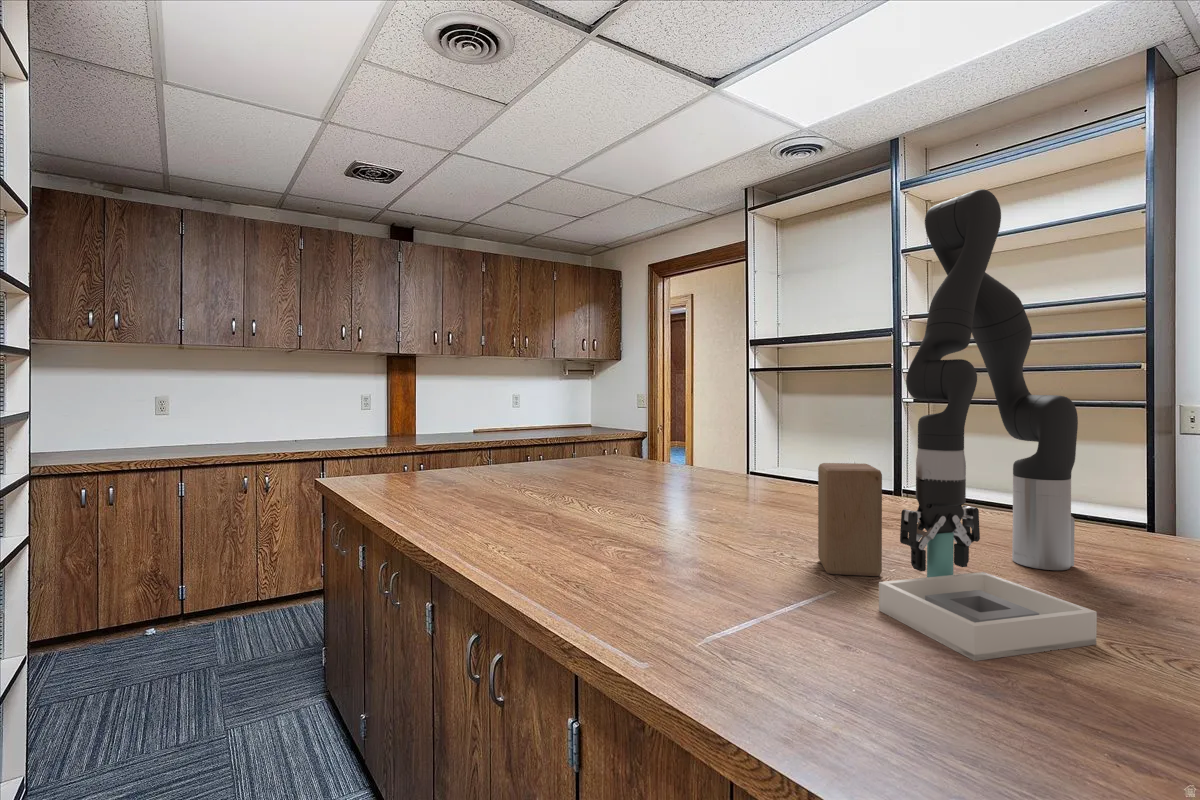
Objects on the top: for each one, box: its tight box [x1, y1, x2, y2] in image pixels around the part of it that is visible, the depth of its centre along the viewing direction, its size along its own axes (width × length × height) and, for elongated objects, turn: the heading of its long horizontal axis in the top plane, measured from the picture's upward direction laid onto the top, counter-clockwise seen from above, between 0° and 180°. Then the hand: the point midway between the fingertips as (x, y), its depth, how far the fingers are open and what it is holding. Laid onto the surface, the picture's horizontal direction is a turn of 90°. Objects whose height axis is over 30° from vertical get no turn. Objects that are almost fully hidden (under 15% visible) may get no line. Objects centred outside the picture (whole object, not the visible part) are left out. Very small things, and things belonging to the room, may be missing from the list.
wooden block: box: [817, 462, 883, 577], centre depth 116 cm, size 10×10×20 cm
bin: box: [878, 571, 1098, 662], centre depth 88 cm, size 20×18×4 cm
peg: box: [926, 532, 955, 578], centre depth 104 cm, size 4×4×10 cm
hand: (939, 568), depth 104 cm, fingers open, 8 cm apart
